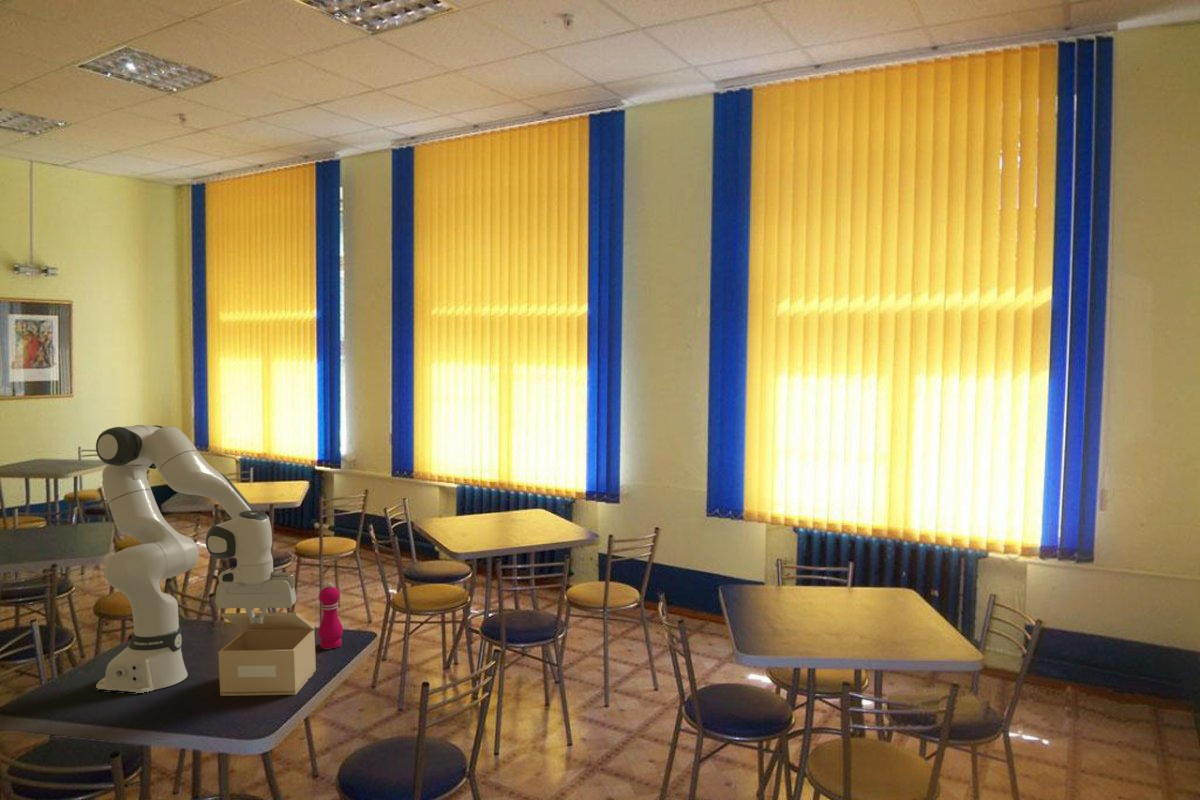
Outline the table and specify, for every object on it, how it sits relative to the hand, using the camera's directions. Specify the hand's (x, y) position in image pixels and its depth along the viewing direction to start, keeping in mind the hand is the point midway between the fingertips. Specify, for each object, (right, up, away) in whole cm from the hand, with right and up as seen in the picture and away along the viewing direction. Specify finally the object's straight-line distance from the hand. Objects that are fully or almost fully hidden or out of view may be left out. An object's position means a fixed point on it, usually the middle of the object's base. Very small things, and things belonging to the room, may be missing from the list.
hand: (257, 623), depth 222 cm
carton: (0, -18, +7) cm, 20 cm away
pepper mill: (+8, -17, +35) cm, 40 cm away
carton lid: (0, -2, +8) cm, 8 cm away
